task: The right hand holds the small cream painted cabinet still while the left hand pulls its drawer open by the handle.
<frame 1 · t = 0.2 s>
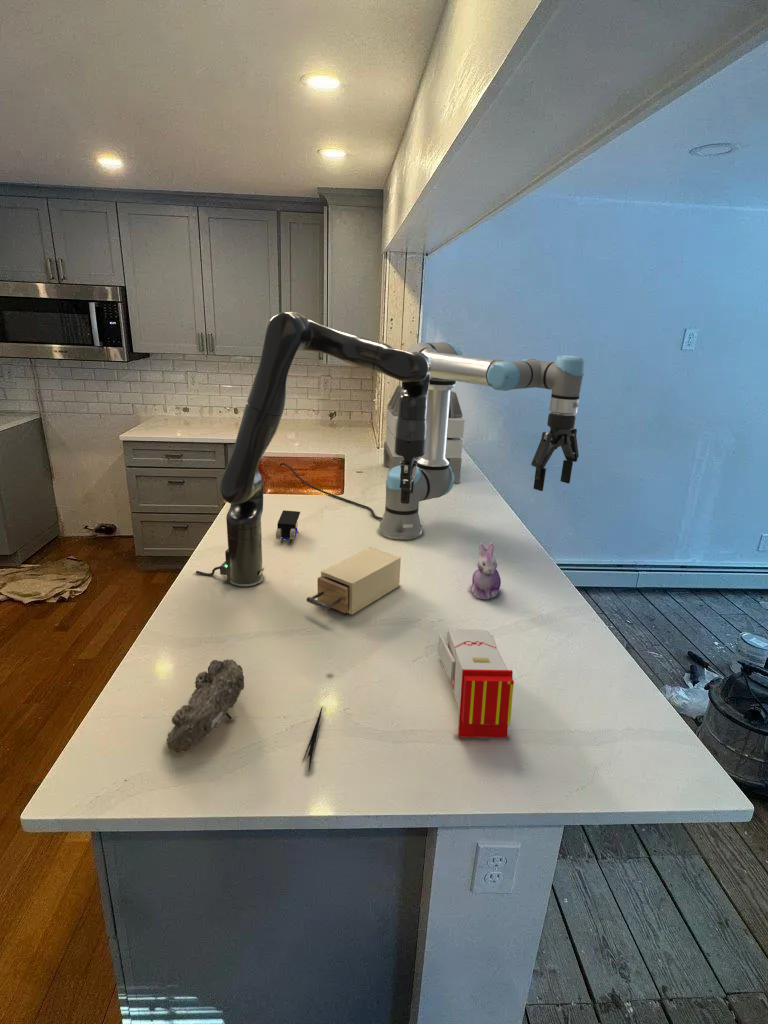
left hand: (407, 497, 146), 29 cm above the counter, tool pointing down, fingers open, 8 cm apart
right hand: (551, 486, 166), 28 cm above the counter, tool pointing down, fingers open, 13 cm apart
black wheeled vehicle: (288, 537, 192), on the counter
toy: (469, 691, 119), on the counter
white slatted crate: (419, 473, 275), on the counter
figurine: (485, 592, 161), on the counter
drawer: (349, 585, 151), point 5 cm above the counter, slide at 0.8 cm
cabinet: (361, 593, 157), on the counter
fossil: (212, 717, 108), on the counter
feather: (319, 719, 109), on the counter
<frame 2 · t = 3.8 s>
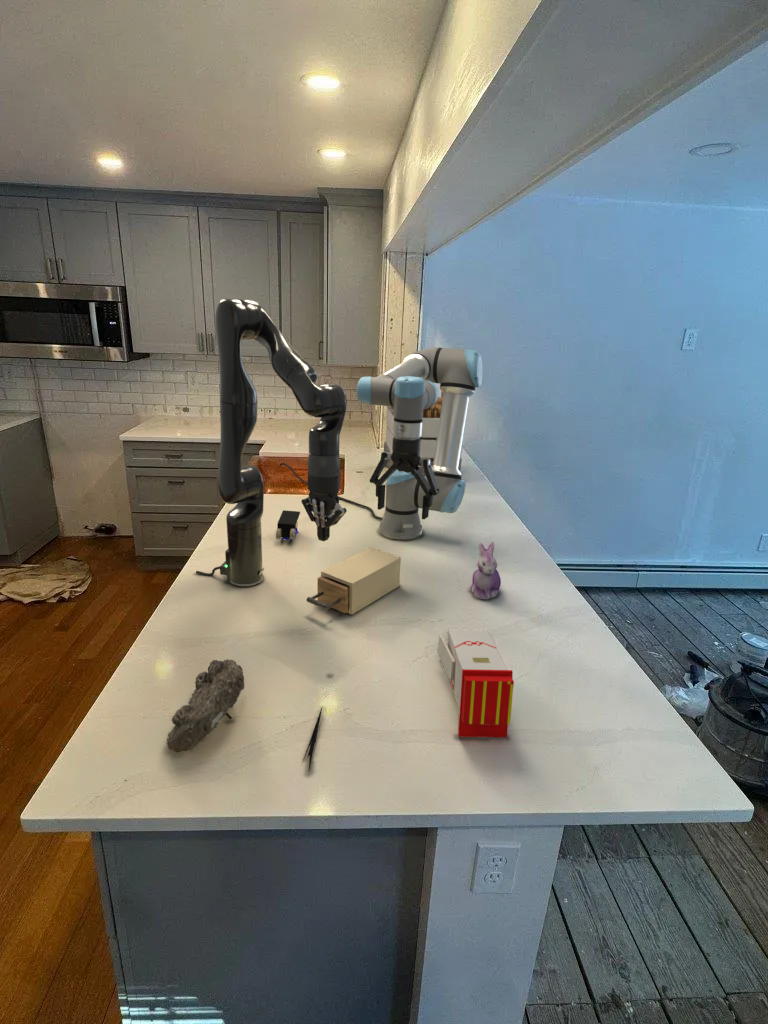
left hand: (323, 539, 138), 21 cm above the counter, tool pointing down, fingers closed
right hand: (402, 513, 156), 22 cm above the counter, tool pointing down, fingers open, 13 cm apart
nothing on the counter moved.
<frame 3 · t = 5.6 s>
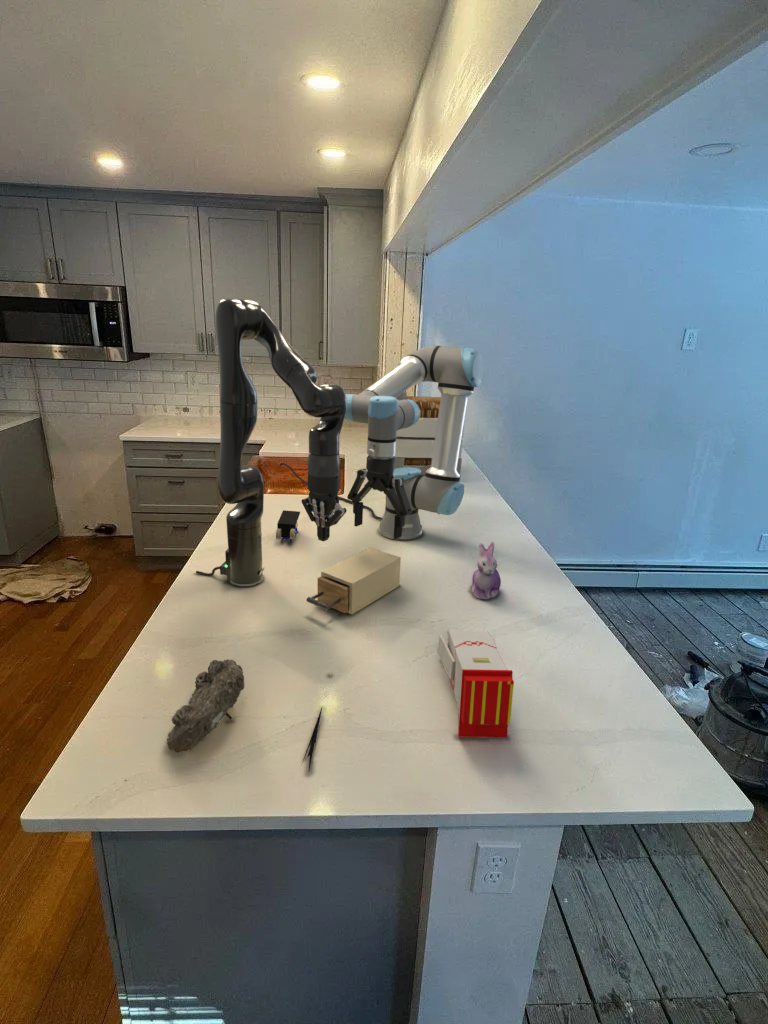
left hand: (323, 539, 138), 21 cm above the counter, tool pointing down, fingers closed
right hand: (377, 531, 156), 17 cm above the counter, tool pointing down, fingers open, 13 cm apart
nothing on the counter moved.
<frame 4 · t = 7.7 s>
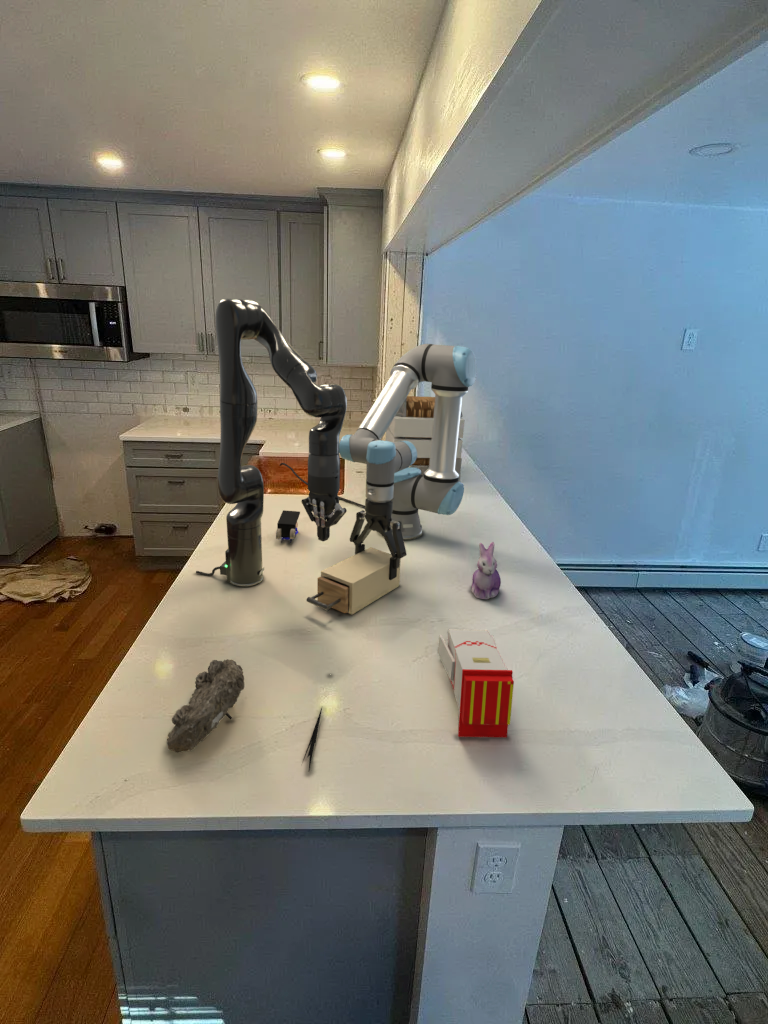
left hand: (323, 539, 138), 21 cm above the counter, tool pointing down, fingers closed
right hand: (376, 572, 161), 4 cm above the counter, tool pointing down, fingers closed on cabinet, 11 cm apart
cabinet: (361, 593, 157), on the counter, touching right hand
everything else where it was.
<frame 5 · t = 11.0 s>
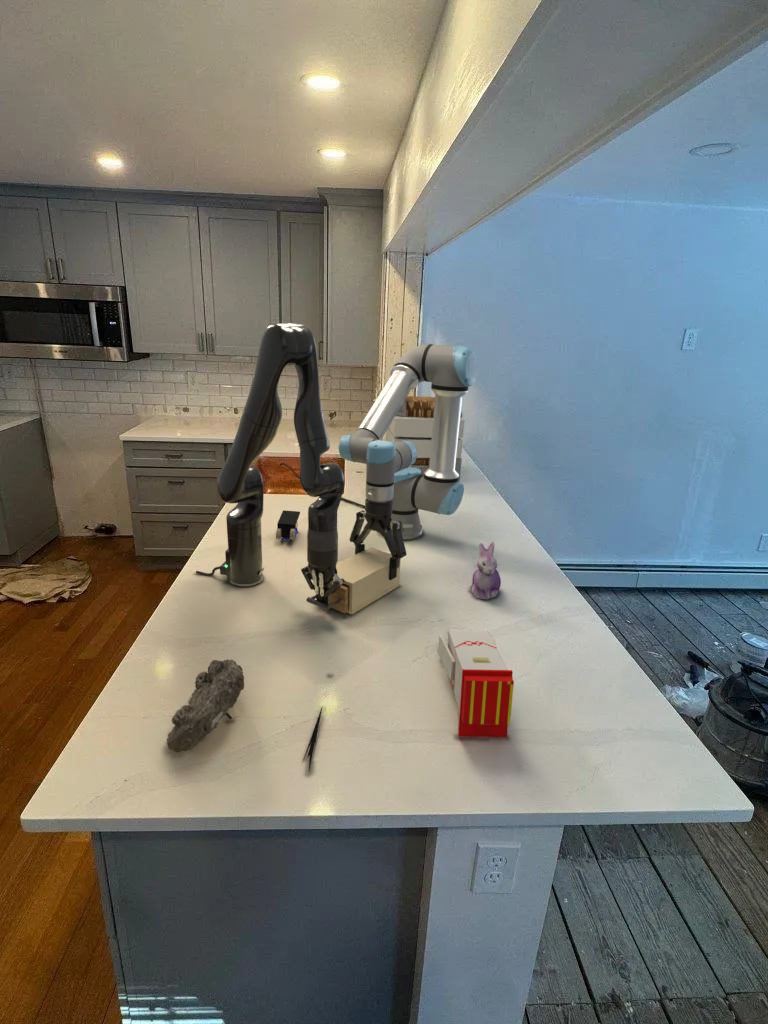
left hand: (322, 606, 144), 3 cm above the counter, tool pointing down, fingers closed
right hand: (376, 572, 161), 4 cm above the counter, tool pointing down, fingers closed on cabinet, 11 cm apart
drawer: (348, 585, 151), point 5 cm above the counter, slide at 0.8 cm, touching left hand
cabinet: (361, 593, 157), on the counter, touching right hand
everything else where it was.
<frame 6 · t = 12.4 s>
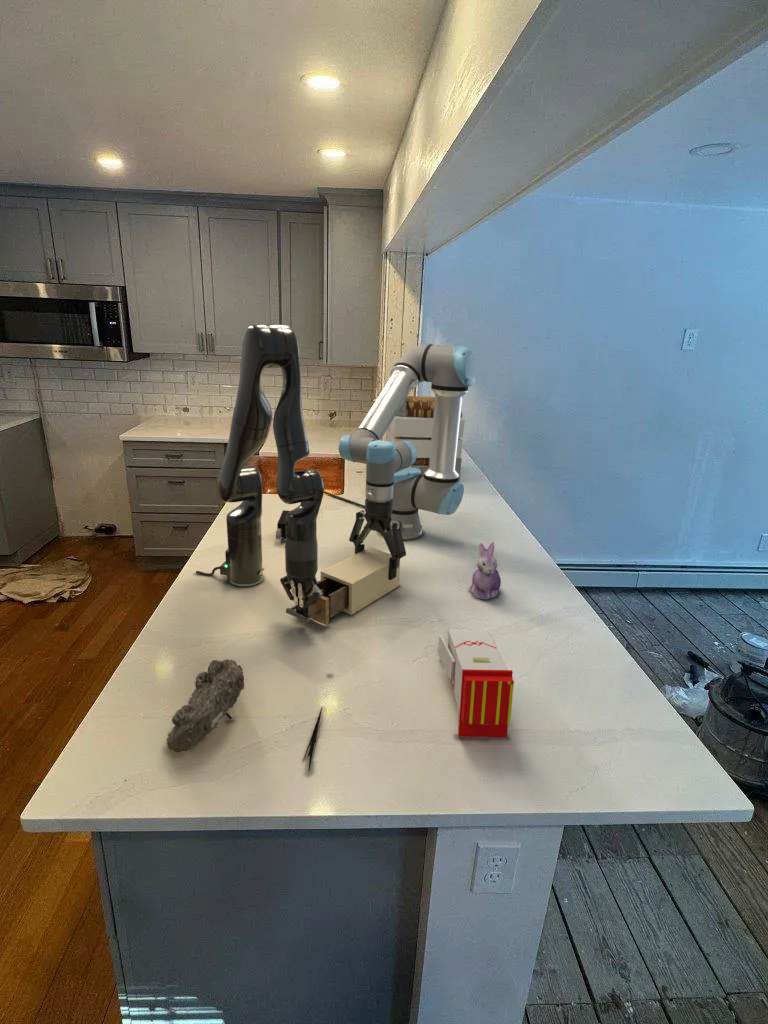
left hand: (302, 617, 139), 3 cm above the counter, tool pointing down, fingers closed
right hand: (375, 572, 161), 4 cm above the counter, tool pointing down, fingers closed on cabinet, 11 cm apart
drawer: (330, 595, 146), point 4 cm above the counter, slide at 8.0 cm, touching left hand
cabinet: (360, 593, 157), on the counter, touching right hand
everything else where it was.
when the right hand's fingers open (4 cm above the counter, at t = 14.3 s): cabinet stays where it is, on the counter.
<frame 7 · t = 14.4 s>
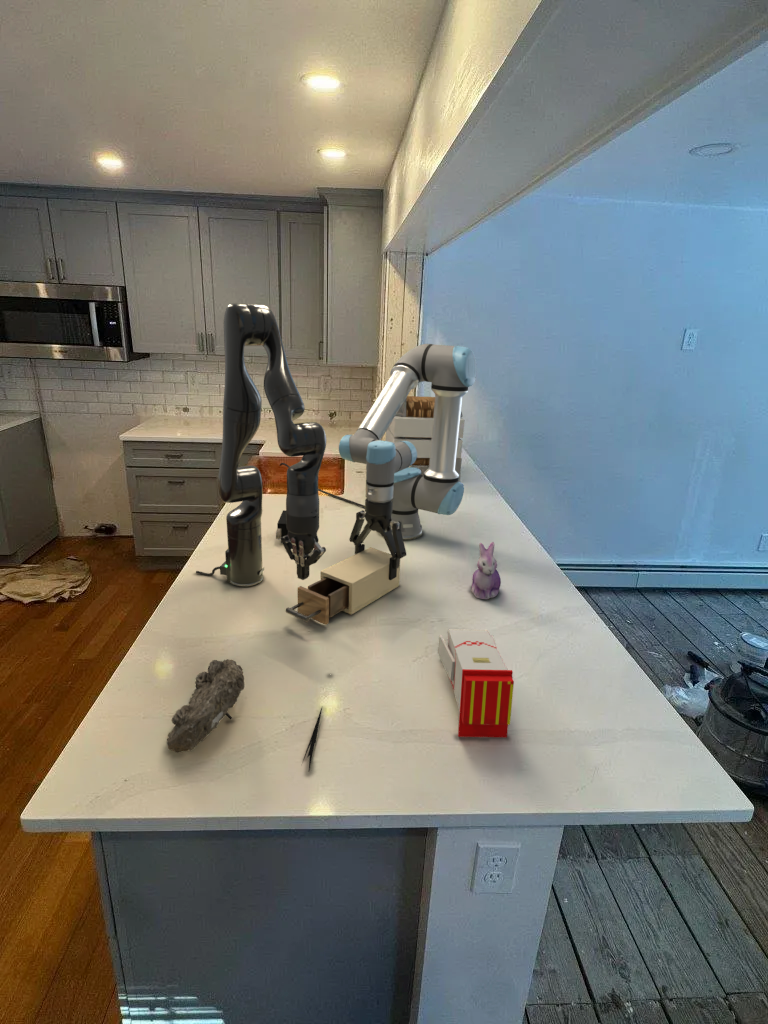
left hand: (303, 578, 135), 13 cm above the counter, tool pointing down, fingers closed
right hand: (376, 572, 161), 4 cm above the counter, tool pointing down, fingers open, 11 cm apart
drawer: (330, 595, 146), point 4 cm above the counter, slide at 8.0 cm
cabinet: (361, 593, 157), on the counter
everything else where it was.
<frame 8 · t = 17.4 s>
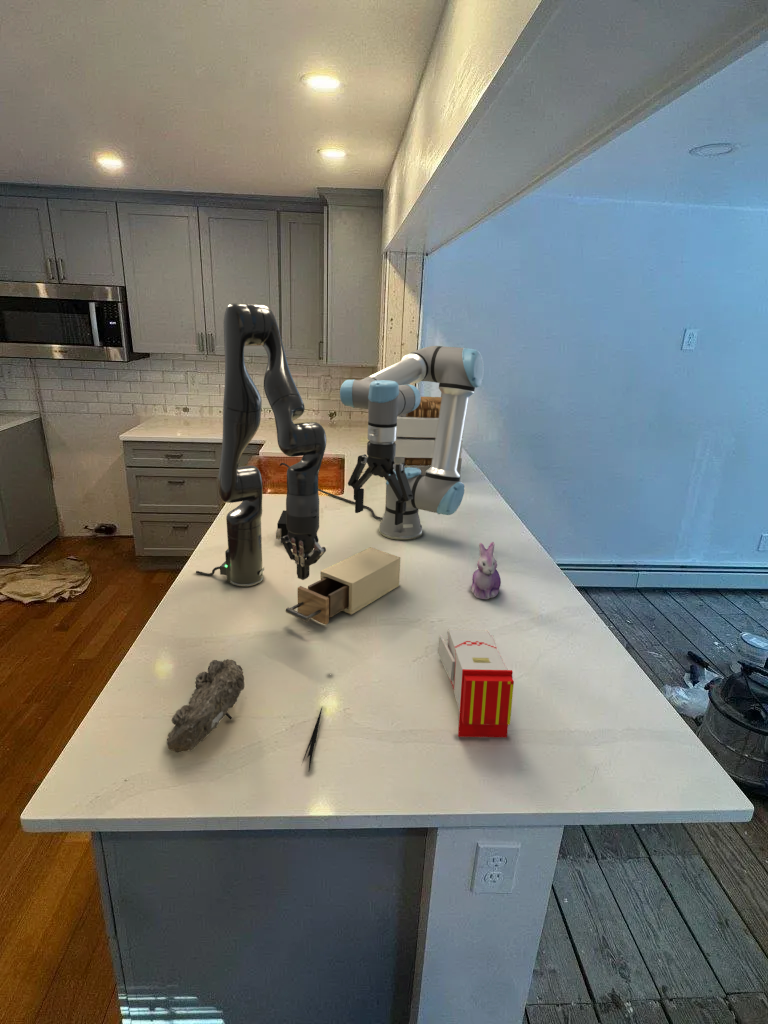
left hand: (303, 578, 135), 13 cm above the counter, tool pointing down, fingers closed
right hand: (378, 517, 155), 21 cm above the counter, tool pointing down, fingers open, 13 cm apart
nothing on the counter moved.
at the end: drawer slide at 8.0 cm; cabinet tilted 0°; cabinet never tilted more than 1° during the clip; cabinet moved 0.1 cm from its start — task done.
